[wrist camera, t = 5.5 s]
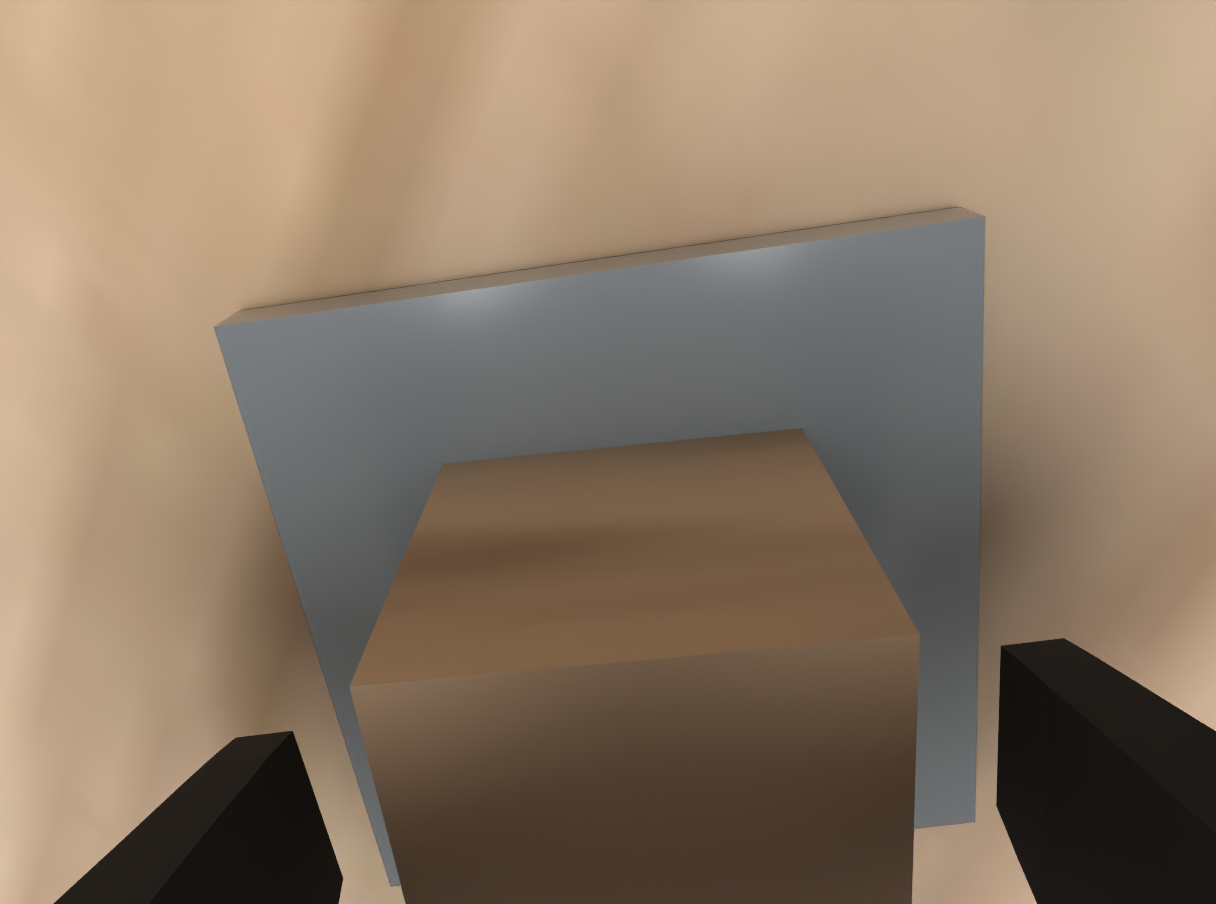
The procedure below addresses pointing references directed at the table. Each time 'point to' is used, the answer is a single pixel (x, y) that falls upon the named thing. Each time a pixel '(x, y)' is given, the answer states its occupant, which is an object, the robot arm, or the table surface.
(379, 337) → the slate coaster
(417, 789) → the walnut cube
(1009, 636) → the table surface
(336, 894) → the robot arm
